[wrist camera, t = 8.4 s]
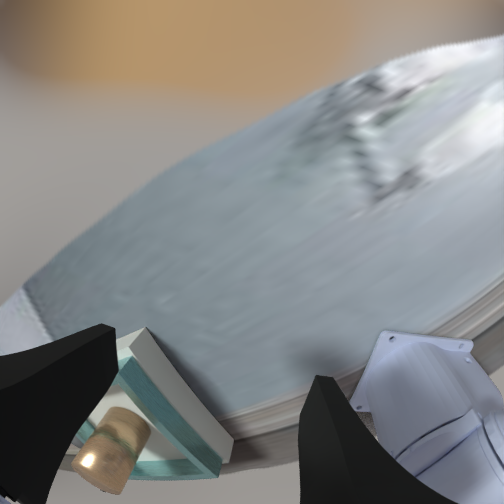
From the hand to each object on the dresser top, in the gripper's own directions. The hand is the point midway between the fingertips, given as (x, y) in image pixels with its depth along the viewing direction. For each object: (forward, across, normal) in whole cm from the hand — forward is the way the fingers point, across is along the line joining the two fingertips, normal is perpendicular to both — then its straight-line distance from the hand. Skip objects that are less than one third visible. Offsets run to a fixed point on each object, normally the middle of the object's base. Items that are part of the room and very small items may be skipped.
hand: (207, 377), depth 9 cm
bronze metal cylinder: (+7, +8, +15) cm, 19 cm away
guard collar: (+7, +8, +15) cm, 19 cm away
